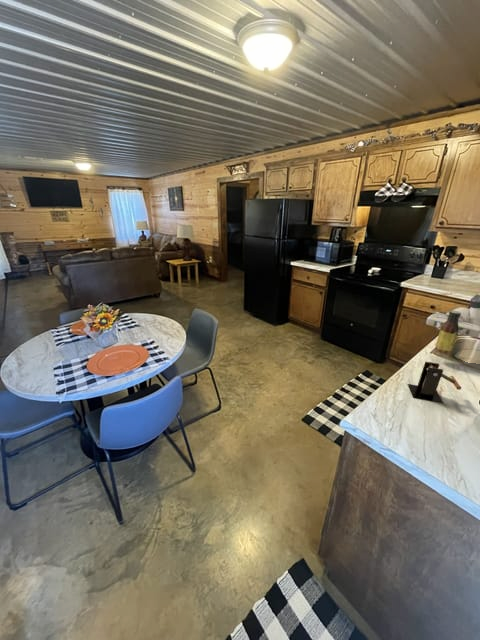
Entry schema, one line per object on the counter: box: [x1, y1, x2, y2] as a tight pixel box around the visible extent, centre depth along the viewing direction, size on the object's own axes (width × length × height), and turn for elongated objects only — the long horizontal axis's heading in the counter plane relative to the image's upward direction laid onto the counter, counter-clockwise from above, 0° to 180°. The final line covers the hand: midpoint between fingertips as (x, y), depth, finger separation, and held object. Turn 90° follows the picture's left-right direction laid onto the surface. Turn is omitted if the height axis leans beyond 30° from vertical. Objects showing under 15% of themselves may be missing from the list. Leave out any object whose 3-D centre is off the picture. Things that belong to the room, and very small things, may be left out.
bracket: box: [407, 361, 444, 405], centre depth 100 cm, size 10×9×14 cm
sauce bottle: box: [434, 309, 461, 355], centre depth 120 cm, size 7×6×20 cm
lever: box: [426, 365, 462, 391], centre depth 98 cm, size 11×7×2 cm, turn 72°
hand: (448, 330), depth 119 cm, fingers closed on sauce bottle, 6 cm apart
